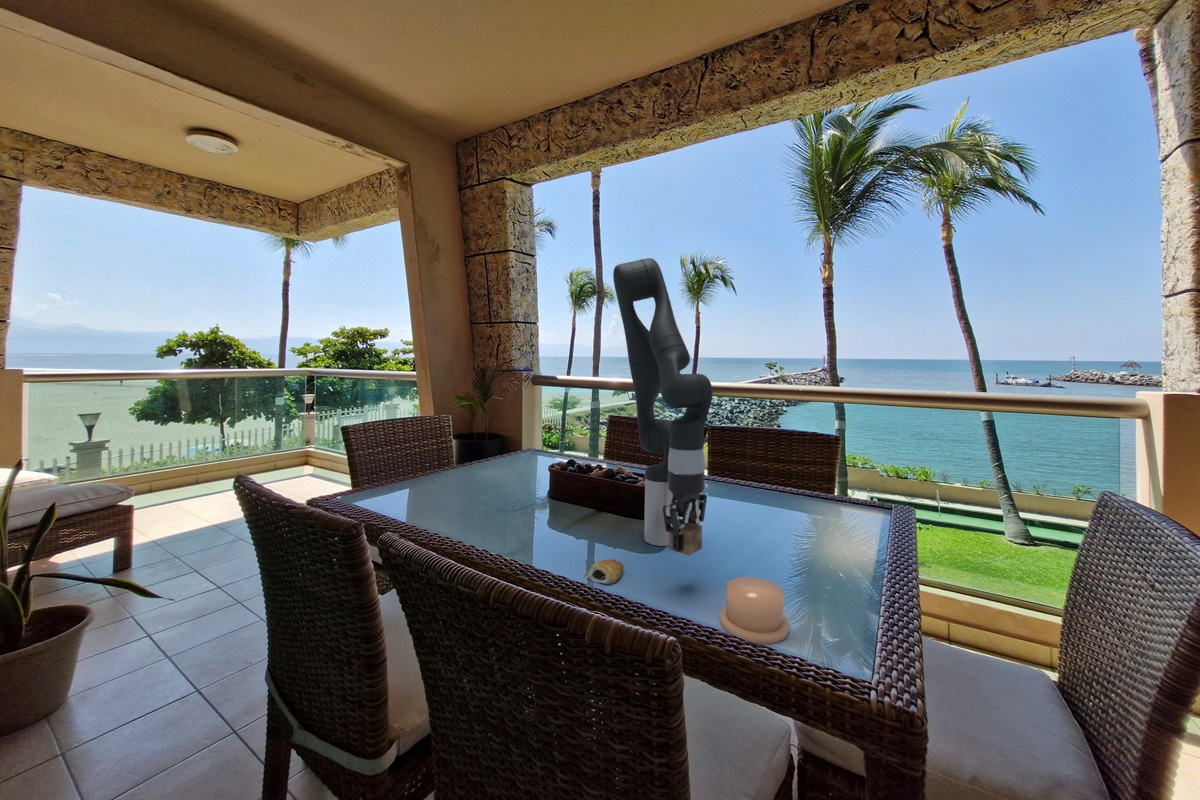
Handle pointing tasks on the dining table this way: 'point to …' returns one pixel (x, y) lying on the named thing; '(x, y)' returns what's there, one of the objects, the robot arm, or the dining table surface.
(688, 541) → the walnut block
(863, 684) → the dining table surface
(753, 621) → the upside-down peach bowl
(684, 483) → the robot arm
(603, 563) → the pastry
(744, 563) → the dining table surface
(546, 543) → the dining table surface
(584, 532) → the dining table surface
